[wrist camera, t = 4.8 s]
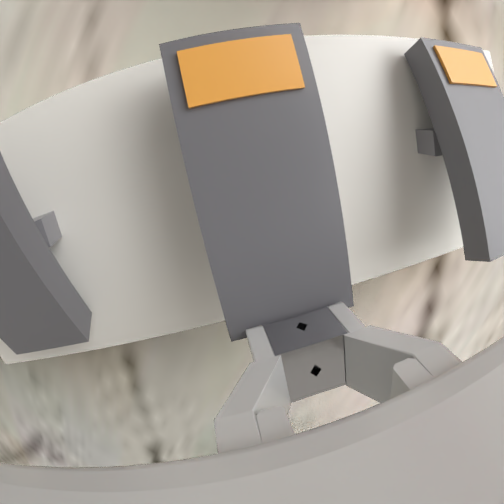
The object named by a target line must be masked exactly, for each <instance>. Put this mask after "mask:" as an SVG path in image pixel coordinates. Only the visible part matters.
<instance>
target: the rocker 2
mask: <svg viewBox="0 0 504 504" xmlns="http://www.w3.org/2000/svg"><path fill="white" fill-rule="evenodd" d="M159 46H160V51H161V56H162V61H163V66H164V71H165V76H166V81H167V86H168V91H169V96H170V101H171V105H172V110H173V115H174V119H175V124H176V129H177V133H178V138H179V142H180V146H181V151H182V155H183V159H184V164H185V168H186V172H187V176H188V181H189V185H190V189H191V193H192V197H193V201H194V205H195V209H196V213H197V217H198V221H199V225H200V229H201V233H202V237H203V241H204V245H205V248H206V252H207V256H208V260H209V263H210V267H211V271H212V275H213V278H214V282H215V286H216V289H217V293H218V296H219V300H220V304H221V307H222V311H223V314H224V318H225V321H226V325H227V328H228V331H229V335H230V338H231V342H232V341H236V340H240V339H243V338H247V335H246V329H250V328H253V327H257V326H260V325H262V326H263V325H265V324H269V323H273V322H276V321H280V320H284V319H288V318H292V317H297V316H300V315H303V314H306V313H309V312H313V311H316V310H319V309H322V308H325V307H327V306H330V305H333V304H336V303H338V302H343V303H344V304H345V305H346V306H347V307H348V308H349V307H352V306H354V305H353V295H352V285H351V276H350V267H349V258H348V250H347V243H346V235H345V228H344V222H343V215H342V208H341V202H340V196H339V190H338V184H337V178H336V173H335V167H334V162H333V157H332V152H331V147H330V142H329V137H328V132H327V127H326V123H325V118H324V114H323V109H322V105H321V100H320V96H319V92H318V88H317V84H316V80H315V76H314V72H313V68H312V64H311V61H310V57H309V53H308V50H307V46H306V42H305V39H304V35H303V32H302V29H301V25H300V23H291V24H277V25H265V26H256V27H247V28H240V29H233V30H226V31H220V32H214V33H208V34H203V35H198V36H193V37H188V38H183V39H179V40H175V41H170V42H166V43H162V44H159Z"/></svg>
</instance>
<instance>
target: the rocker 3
mask: <svg viewBox="0 0 504 504" xmlns="http://www.w3.org/2000/svg"><path fill="white" fill-rule="evenodd" d="M404 55H405V58H406V60H407V62H408V64H409V66H410V69H411V71H412V73H413V75H414V78H415V80H416V82H417V85H418V87H419V90H420V92H421V95H422V97H423V100H424V102H425V105H426V108H427V110H428V113H429V116H430V119H431V121H432V124H433V127H434V130H435V133H436V136H437V139H438V142H439V145H440V149H441V152H442V155H443V159H444V162H445V166H446V169H447V173H448V177H449V180H450V184H451V188H452V192H453V197H454V201H455V205H456V210H457V215H458V220H459V225H460V230H461V235H462V241H463V247H464V254H465V260H470V261H487V262H490V261H493V260H495V259H497V258H499V257H501V256H503V255H504V97H503V94H502V92H501V90H500V87H499V85H498V82H497V80H496V78H495V76H494V73H493V71H492V69H491V67H490V65H489V63H488V60H487V58H486V56H485V54H484V52H483V50H482V48H480V47H475V46H470V45H465V44H460V43H455V42H449V41H443V40H436V39H429V38H420V39H419V40H418V41H417V42H416V43H415V44H414V45H413V46H412V47H411V48H410V49H409V50H408V51H407V52H406V53H405V54H404Z"/></svg>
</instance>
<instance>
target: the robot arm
mask: <svg viewBox="0 0 504 504" xmlns="http://www.w3.org/2000/svg"><path fill="white" fill-rule="evenodd" d="M246 335H247V339H248V343H249V347H250V350H251V354H252V358H253V362H252V363H250V364H249V365H248V367H247V368H246V370H245V372H244V373H243V375H242V377H241V378H240V380H239V381H238V383H237V385H236V386H235V388H234V389H233V391H232V393H231V394H230V396H229V397H228V399H227V400H226V402H225V404H224V405H223V407H222V408H221V410H220V411H219V413H218V414H217V416H216V418H215V419H214V425H215V433H216V442H217V450H218V454H213V455H207V456H202V457H196V458H189V459H183V460H176V461H169V462H160V463H151V464H141V465H129V466H113V467H45V466H30V465H19V464H9V463H1V462H0V504H504V336H503V337H502V338H500V339H499V340H497V341H496V342H494V343H493V344H491V345H490V346H488V347H487V348H485V349H484V350H482V351H480V352H479V353H477V354H475V355H474V356H472V357H470V358H469V359H467V360H465V361H464V362H462V361H461V360H460V359H459V358H458V357H456V356H455V355H454V354H453V353H452V352H451V351H450V350H449V349H448V348H447V347H445V346H444V345H443V344H442V343H441V342H438V341H434V340H430V339H425V338H421V337H417V336H412V335H408V334H404V333H400V332H395V331H391V330H387V329H383V328H379V327H375V326H371V325H370V326H367V327H366V326H365V325H364V324H363V323H362V322H361V321H360V320H359V319H358V318H357V316H356V315H355V314H354V313H353V312H352V311H351V310H350V309H349V308H348V307H347V306H346V305H345V304H344V303H343V302H338V303H336V304H333V305H330V306H327V307H325V308H322V309H319V310H316V311H313V312H309V313H306V314H303V315H300V316H297V317H292V318H288V319H284V320H280V321H276V322H273V323H269V324H265V325H263V326H262V325H260V326H257V327H253V328H250V329H246ZM343 385H346V386H348V387H350V388H352V389H354V390H356V391H358V392H360V393H362V394H364V395H366V396H368V397H370V398H372V399H374V400H376V401H378V402H380V404H377V405H375V406H373V407H370V408H368V409H365V410H363V411H360V412H358V413H355V414H353V415H350V416H348V417H345V418H342V419H339V420H337V421H334V422H331V423H328V424H325V425H323V426H320V427H317V428H314V429H310V430H307V431H304V432H301V433H298V434H295V433H294V431H293V428H292V426H291V423H290V421H289V418H288V412H289V409H290V406H291V403H292V402H295V401H298V400H301V399H303V398H306V397H309V396H312V395H315V394H318V393H321V392H324V391H327V390H330V389H334V388H337V387H340V386H343Z"/></svg>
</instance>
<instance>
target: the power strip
mask: <svg viewBox="0 0 504 504" xmlns="http://www.w3.org/2000/svg"><path fill="white" fill-rule="evenodd" d="M304 39H305V42H306V46H307V50H308V53H309V57H310V61H311V64H312V68H313V72H314V76H315V80H316V84H317V88H318V92H319V96H320V100H321V105H322V109H323V114H324V118H325V123H326V127H327V132H328V137H329V142H330V147H331V152H332V157H333V162H334V167H335V173H336V178H337V184H338V190H339V196H340V202H341V208H342V215H343V222H344V228H345V235H346V243H347V250H348V258H349V267H350V276H351V285H354V284H357V283H360V282H363V281H366V280H369V279H373V278H376V277H379V276H382V275H385V274H388V273H391V272H394V271H397V270H400V269H403V268H406V267H409V266H412V265H414V264H417V263H420V262H423V261H426V260H429V259H432V258H434V257H437V256H440V255H443V254H446V253H448V252H451V251H454V250H456V249H459V248H462V247H463V241H462V235H461V230H460V225H459V220H458V215H457V210H456V205H455V201H454V197H453V192H452V188H451V184H450V180H449V177H448V173H447V169H446V166H445V162H444V159H443V155H442V152H441V149H440V145H439V142H438V139H437V136H436V133H435V130H434V127H433V124H432V121H431V119H430V116H429V113H428V110H427V108H426V105H425V102H424V100H423V97H422V95H421V92H420V90H419V87H418V85H417V82H416V80H415V78H414V75H413V73H412V71H411V69H410V66H409V64H408V62H407V60H406V58H405V55H404V54H405V53H406V52H407V51H408V50H409V49H410V48H411V47H412V46H413V45H414V44H415V43H416V42H417V41H418V40H419V39H415V38H405V37H393V36H377V35H310V36H304ZM483 52H484V54H485V56H486V58H487V60H488V63H489V65H490V67H491V69H492V71H493V73H494V70H493V65H492V60H491V55H490V51H487V50H483ZM0 152H1V155H2V157H3V159H4V162H5V164H6V166H7V168H8V170H9V173H10V175H11V177H12V179H13V181H14V183H15V185H16V187H17V189H18V191H19V193H20V195H21V197H22V199H23V201H24V203H25V205H26V207H27V209H28V211H29V213H30V215H31V217H32V218H33V220H34V222H35V224H36V226H37V227H38V229H39V231H40V233H41V235H42V236H43V238H44V240H45V241H46V243H47V245H48V247H49V248H50V250H51V252H52V253H53V255H54V256H55V258H56V260H57V261H58V263H59V265H60V266H61V268H62V269H63V271H64V272H65V274H66V275H67V277H68V279H69V280H70V282H71V283H72V285H73V286H74V288H75V289H76V291H77V292H78V293H79V295H80V296H81V298H82V299H83V301H84V302H85V304H86V305H87V306H88V308H89V309H90V311H91V312H92V317H91V326H90V336H89V342H84V343H79V344H74V345H69V346H63V347H58V348H53V349H47V350H41V351H36V352H30V353H24V354H18V355H17V354H16V353H14V352H13V351H12V350H11V349H10V348H9V347H8V346H7V345H6V344H5V343H4V342H3V341H2V340H1V339H0V356H1V358H2V360H3V361H4V363H5V364H13V363H20V362H27V361H33V360H39V359H46V358H52V357H58V356H63V355H69V354H75V353H80V352H86V351H91V350H96V349H102V348H107V347H112V346H117V345H122V344H127V343H131V342H136V341H141V340H146V339H150V338H155V337H159V336H164V335H168V334H173V333H177V332H181V331H186V330H190V329H194V328H198V327H202V326H206V325H211V324H215V323H219V322H223V321H225V318H224V314H223V311H222V307H221V304H220V300H219V296H218V293H217V289H216V286H215V282H214V278H213V275H212V271H211V267H210V263H209V260H208V256H207V252H206V248H205V245H204V241H203V237H202V233H201V229H200V225H199V221H198V217H197V213H196V209H195V205H194V201H193V197H192V193H191V189H190V185H189V181H188V176H187V172H186V168H185V164H184V159H183V155H182V151H181V146H180V142H179V138H178V133H177V129H176V124H175V119H174V115H173V110H172V105H171V101H170V96H169V91H168V86H167V81H166V76H165V71H164V66H163V61H162V58H160V59H156V60H152V61H149V62H145V63H142V64H138V65H135V66H132V67H128V68H125V69H122V70H119V71H116V72H113V73H110V74H107V75H104V76H101V77H98V78H96V79H93V80H90V81H88V82H85V83H82V84H80V85H77V86H75V87H72V88H70V89H67V90H65V91H63V92H60V93H58V94H56V95H53V96H51V97H49V98H47V99H45V100H42V101H40V102H38V103H36V104H34V105H32V106H30V107H28V108H26V109H24V110H22V111H20V112H18V113H16V114H14V115H12V116H10V117H8V118H7V119H5V120H3V121H1V122H0Z"/></svg>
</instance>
